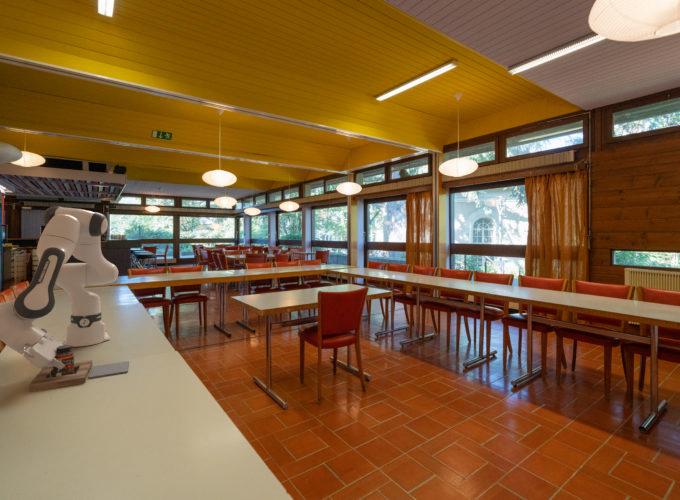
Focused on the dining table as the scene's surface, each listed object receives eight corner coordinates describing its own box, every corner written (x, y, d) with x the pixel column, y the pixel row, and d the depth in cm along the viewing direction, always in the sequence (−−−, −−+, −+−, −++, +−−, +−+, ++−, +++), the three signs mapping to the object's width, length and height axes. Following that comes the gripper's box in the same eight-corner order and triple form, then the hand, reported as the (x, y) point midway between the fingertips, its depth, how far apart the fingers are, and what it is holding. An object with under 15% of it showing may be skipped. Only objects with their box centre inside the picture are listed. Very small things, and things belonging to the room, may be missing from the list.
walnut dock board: (43, 371, 124) (43, 366, 124) (92, 365, 132) (92, 360, 132) (28, 391, 108) (28, 385, 108) (84, 382, 116) (84, 377, 116)
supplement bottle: (61, 381, 116) (61, 349, 116) (48, 379, 118) (48, 348, 117) (78, 374, 122) (78, 344, 122) (65, 373, 124) (65, 343, 123)
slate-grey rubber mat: (93, 367, 129) (93, 366, 129) (129, 362, 135) (129, 360, 135) (88, 378, 119) (88, 377, 119) (127, 372, 125) (127, 371, 125)
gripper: (29, 341, 107) (67, 366, 112) (45, 327, 125) (78, 348, 130) (10, 357, 105) (50, 381, 110) (29, 340, 123) (63, 361, 128)
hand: (65, 363), depth 120 cm, fingers closed on supplement bottle, 6 cm apart
